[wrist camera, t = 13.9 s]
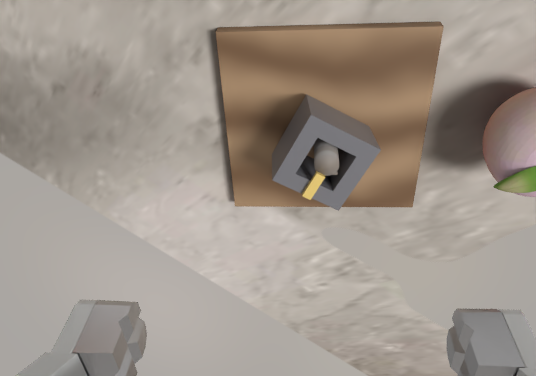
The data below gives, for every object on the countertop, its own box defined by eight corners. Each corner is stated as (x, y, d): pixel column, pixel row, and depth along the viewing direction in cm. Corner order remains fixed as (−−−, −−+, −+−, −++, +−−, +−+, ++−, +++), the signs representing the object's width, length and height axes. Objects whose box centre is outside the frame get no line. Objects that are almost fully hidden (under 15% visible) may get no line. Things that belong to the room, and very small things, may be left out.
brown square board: (218, 27, 39) (202, 59, 33) (439, 21, 37) (464, 53, 32) (236, 199, 50) (227, 246, 44) (410, 199, 48) (424, 248, 42)
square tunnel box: (306, 94, 40) (311, 116, 35) (369, 126, 42) (382, 152, 37) (271, 154, 43) (272, 182, 38) (331, 182, 44) (339, 213, 40)
